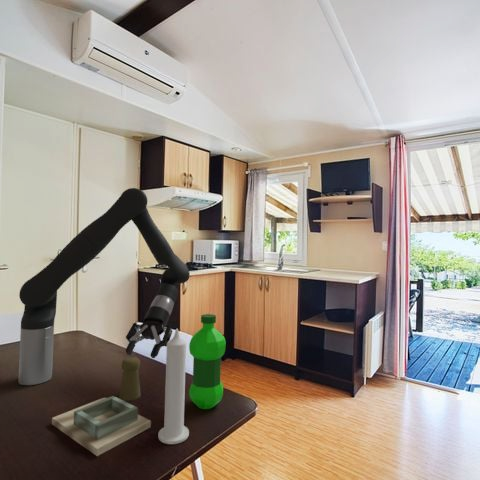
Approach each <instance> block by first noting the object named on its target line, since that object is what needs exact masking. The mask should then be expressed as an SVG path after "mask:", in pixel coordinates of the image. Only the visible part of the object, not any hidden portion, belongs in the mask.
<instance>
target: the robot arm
mask: <svg viewBox="0 0 480 480" xmlns="http://www.w3.org/2000/svg"><path fill="white" fill-rule="evenodd" d="M147 206H148V197H147V194H146V193H145V191H143V190H142V189H139V188H135V187H130V188H128V189H125V190H124V191H123V192H122V193H121V195H120V196H119V197H118V199H117V200H115V202H114V203H113V204H112V205H111V207H110V208H108V209H107V210H106V211H105V212H104V213H103V214H101V216H99V217H98V218H96V219H95V220H93V221H92V222H91V223H90V224H88V225H87V226H86V227H84V228H83V229H82V230H81V231H80V232H78V234H77V235H76V236H75V237H73V238H72V240H71V241H69V242H68V244H67V245H65V246H64V247H63V248H62V250H60V252H59V253H58V254H57V255H56V257H55V258H54V259H53V260H52V261H51V262H50V263H49V264H48V265H46V266H44V268H42V270H40V271H39V272H38V273H36V274H35V275H34V276H32V277H31V278H30V279H28V280H27V281H24V283H23V284H22V285H21V287H20V290H19V293H18V294H19V295H18V296H19V300H20V302H21V304H22V305H24V307H23V309H24V311H23V314H22V317H21V320H20V334H19V335H20V337H19V338H20V339H19V359H18V380H17V381H18V384H19V385H21V386H33V385H39V384H42V383H46V382H47V381H50V380H51V379H52V378H53V365H54V364H53V363H54V361H53V360H54V358H53V357H54V337H55V319H56V313H57V299H58V290H59V289H60V288H61V287H62V286H63V285H64V283H65V282H66V281H68V279H69V278H70V277H72V276H73V275H74V274H76V273H77V272H79V271H81V269H83V268H84V267H86V266H87V265H88V264H89V263H90V262H91V261H93V260H94V259H95V258H96V257H97V256H98V255H99V254H101V252H102V251H104V249H105V248H106V247H107V246H108V245H109V244H110V243H111V241H112V240H113V239H114V238H115V237H116V235H118V233H119V232H120V230H121V229H123V227H125V226H126V224H129V222H131V221H132V222H133V224H134V225H135V227H136V228H137V229H138V231H139V233H140V235H141V236H142V238H143V240H144V241H145V243H146V245H147V248H148V249H149V251H150V253H151V254H152V256H153V257H154V259H155V261H156V263H157V264H158V265H160V266H167V267H168V268H167V269H165V270H164V271H163V272H162V274H161V278H160V283H159V289H158V291H157V293H156V295H155V296H154V299H153V300H152V302H151V304H150V306H149V307H148V310H147V312H146V314H145V316H144V320H143V322H142V324H138V323H137V322H133V323H132V325H131V327H130V328H129V330H128V332H127V334H126V335H125V340H126V341H128V344H127V346H126V348H125V352H126V354H127V355H128V356H131V355H132V354H133V351H134V349H135V347H136V344H138V343H139V342H142V341H143V340H151V341H155V344H153V348H152V350H151V352H150V354H149V355H150V358H152V359H155V358H156V357H157V356H158V355H159V353H160V349H161V348H162V347H165V348H167V342H168V341H170V340H171V337H172V334H173V329H172V327H171V326H170V325H168V326H167V324H168V322H169V319H170V316H171V314H172V313H173V312H172V311H173V308H174V305H175V303H176V301H177V299H178V294H179V290H178V288H177V285H181V284H184V283H186V282H188V281H189V279H190V273H191V272H190V269H189V267H188V266H187V265H186V263H185V262H184V261H182V260H181V258H180V257H179V256H178V255H177V254H175V253H174V250H173V249H172V248H171V247H172V246H171V245H170V244H169V242H168V240H167V239H166V236H164V234H163V233H162V232H161V230H160V229H159V227H158V226H157V225H156V223H155V222H154V220H153V219H152V217H151V215H150V212H149V210H148V207H147ZM162 334H163V337H162V339H161V335H162ZM140 335H141V336H140Z"/></svg>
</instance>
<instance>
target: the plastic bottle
mask: <svg viewBox="0 0 480 480" xmlns="http://www.w3.org/2000/svg"><path fill="white" fill-rule="evenodd" d="M216 322H217V315H216V314H209V313H206V314H202V315H200V323H202V327H201V328H200V329H199V330H198V331H197V332H195V334H193V336H192V337H191V339H190V341H189V344H188V345H189V347H188V348H189V354H190V355H191V356H192V357H193V368H192V382H191V385H190V388H189V389H188V396H189V399H190V401H192V402H193V403H194V404H195V406H196V407H198V408H199V409H202V410H209V409H212V408H214V407H215V406H216V405H217V404H218V403H220V402H221V401H222V399H223V396H224V386H223V382H222V380H221V363H222V357H223V356H224V355H225V352H226V343H227V342H226V338H225V336H224V335H223V334H222V333H221V332H220V331H219V330H218V329H216V328H215V324H216Z"/></svg>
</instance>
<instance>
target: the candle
mask: <svg viewBox="0 0 480 480" xmlns="http://www.w3.org/2000/svg"><path fill="white" fill-rule="evenodd" d="M165 359H166V360H165V361H166V362H165V390H164V418H163V419H164V420H163V421H164V423H163V424H164V425H163V426H164V427H162V428H161V429H160V430H159V431H158V434H157V435H158V440H159V441H160V442H161V443H162V444H166V445H177V444H181V443H183V442H185V441H186V440H187V439H188V437H189V436H190V435H189V434H190V430H189V428H188V427H187V426H185V425H184V424H185V397H186V395H185V393H186V392H185V391H186V390H185V389H186V361H187V360H186V359H187V342H186V341H185V340H184V339H182V338H181V335H180V332H179V329H178V328H176V329H175V332H174V336H173V337H172V338H170V340H169V341H168V342H167V346H166V358H165Z"/></svg>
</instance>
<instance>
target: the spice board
mask: <svg viewBox="0 0 480 480" xmlns="http://www.w3.org/2000/svg"><path fill="white" fill-rule="evenodd" d="M51 425H53V427H55V428H57V429H58V430H59V431H60V432H62V433H63V434H65V435H66V436H68V437H69V438H70V439H72V440H73V441H74V442H76V443H77V444H79V445H80V446H81V447H84V448H85V449H86V450H88V451H89V452H91V454H93V455H95V456H96V457H99V456H100V455H103V454H104V453H106V452H108V451H110V450H112V449H113V448H115V447H117V446H119V445H120V444H122V443H125V442H126V441H128V440H131V439H132V438H134V437H135V436H137V435H139V434H140V433H143V432H144V431H146V430H149V429H150V428H151V427H152V426H151V425H152V421H151V419H148V418H147V417H144V416H142V415H140V414H139V408H138V406H135V405H133V404H131V403H129V402H128V401H124V400H121V399H120V398H119V397H117V396H114V395H112V396H109V397H102V398H99V399H97V400H93V401H91V402H89V403H86V404H83V405H81V406H79V407H76V408H73V409H72V410H69V411H66V412H63V413H61V414H58V415H56V416H53V417H51Z"/></svg>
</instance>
